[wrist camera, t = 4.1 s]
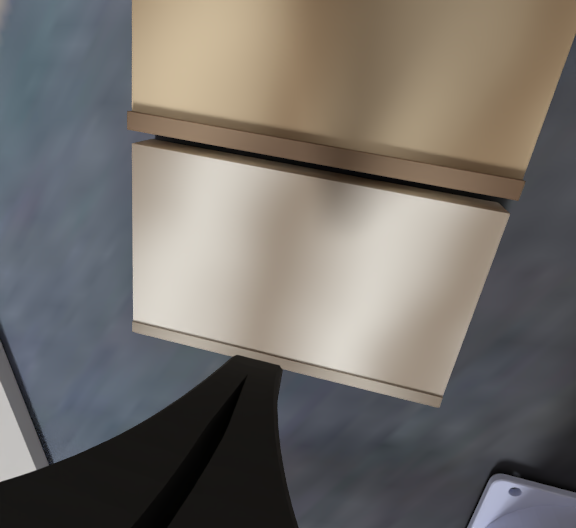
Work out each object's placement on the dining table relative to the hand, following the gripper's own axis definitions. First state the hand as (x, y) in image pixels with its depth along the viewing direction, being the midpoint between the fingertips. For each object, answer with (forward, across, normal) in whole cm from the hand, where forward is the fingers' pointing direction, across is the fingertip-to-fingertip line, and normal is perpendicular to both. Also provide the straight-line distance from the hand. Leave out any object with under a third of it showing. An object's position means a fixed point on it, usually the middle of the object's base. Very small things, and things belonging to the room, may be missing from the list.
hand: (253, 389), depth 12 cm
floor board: (+7, 0, -9) cm, 11 cm away
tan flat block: (+7, 0, -1) cm, 7 cm away
